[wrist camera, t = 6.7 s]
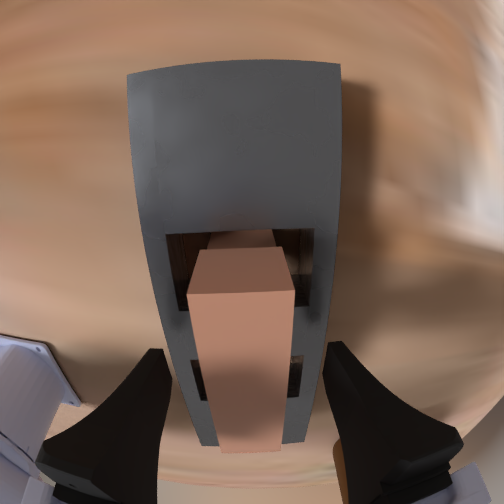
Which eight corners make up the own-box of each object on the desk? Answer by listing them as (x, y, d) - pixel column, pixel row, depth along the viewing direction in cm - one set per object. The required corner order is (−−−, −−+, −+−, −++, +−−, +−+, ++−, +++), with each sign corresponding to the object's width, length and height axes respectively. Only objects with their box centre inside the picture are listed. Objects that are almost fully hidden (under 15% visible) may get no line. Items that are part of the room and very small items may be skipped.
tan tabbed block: (225, 361, 18) (221, 453, 12) (210, 216, 14) (186, 294, 8) (270, 360, 18) (280, 450, 12) (271, 214, 14) (295, 290, 8)
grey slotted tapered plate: (204, 416, 21) (201, 445, 19) (149, 83, 11) (126, 74, 9) (299, 412, 21) (304, 441, 19) (320, 75, 11) (340, 64, 9)
